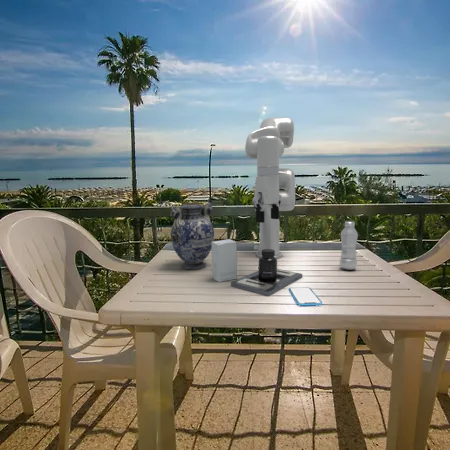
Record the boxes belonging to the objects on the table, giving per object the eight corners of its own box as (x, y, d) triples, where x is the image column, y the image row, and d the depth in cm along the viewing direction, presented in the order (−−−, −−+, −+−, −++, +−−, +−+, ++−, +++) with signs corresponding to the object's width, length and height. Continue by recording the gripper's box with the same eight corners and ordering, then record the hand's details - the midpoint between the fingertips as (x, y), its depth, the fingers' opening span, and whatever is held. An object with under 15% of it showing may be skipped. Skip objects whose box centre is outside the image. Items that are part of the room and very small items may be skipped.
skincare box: (230, 275, 127) (230, 238, 125) (238, 279, 122) (237, 241, 120) (211, 278, 124) (210, 240, 122) (218, 282, 119) (217, 243, 116)
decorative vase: (184, 276, 127) (181, 206, 123) (162, 266, 141) (158, 203, 137) (225, 265, 140) (224, 202, 136) (201, 258, 155) (199, 200, 150)
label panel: (230, 286, 115) (230, 281, 115) (267, 270, 133) (267, 266, 133) (268, 296, 105) (268, 291, 104) (302, 277, 123) (302, 273, 122)
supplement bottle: (265, 286, 114) (265, 253, 112) (254, 280, 120) (254, 249, 118) (280, 282, 117) (281, 251, 115) (269, 277, 123) (270, 247, 121)
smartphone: (309, 287, 111) (323, 303, 96) (309, 290, 111) (323, 307, 96) (288, 287, 111) (298, 303, 96) (288, 290, 111) (298, 307, 96)
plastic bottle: (358, 272, 128) (360, 222, 125) (340, 271, 130) (342, 222, 127) (355, 267, 135) (357, 220, 132) (338, 266, 136) (339, 220, 133)
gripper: (271, 172, 121) (271, 217, 124) (244, 172, 108) (245, 222, 111) (289, 172, 117) (288, 218, 119) (263, 172, 104) (263, 224, 106)
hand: (267, 220), depth 115 cm, fingers open, 9 cm apart
